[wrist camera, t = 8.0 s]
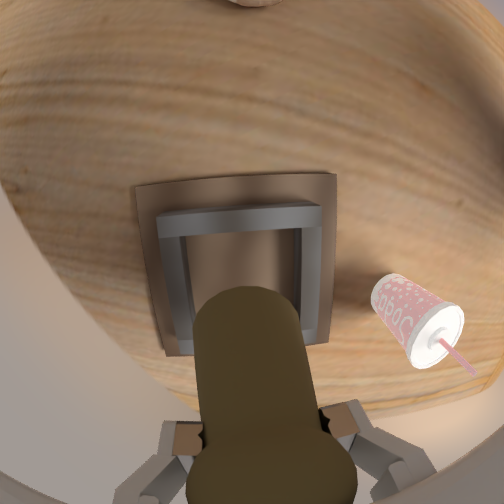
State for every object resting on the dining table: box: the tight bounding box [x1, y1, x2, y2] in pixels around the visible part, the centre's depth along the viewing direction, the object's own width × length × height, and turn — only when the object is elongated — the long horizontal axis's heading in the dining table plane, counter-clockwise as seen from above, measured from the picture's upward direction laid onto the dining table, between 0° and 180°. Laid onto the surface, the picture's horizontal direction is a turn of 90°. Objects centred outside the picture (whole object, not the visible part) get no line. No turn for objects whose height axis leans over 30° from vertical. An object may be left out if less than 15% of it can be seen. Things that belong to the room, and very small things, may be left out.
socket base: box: [135, 174, 337, 357], centre depth 22 cm, size 16×16×4 cm
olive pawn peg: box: [186, 286, 358, 504], centre depth 9 cm, size 6×6×11 cm
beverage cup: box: [371, 273, 477, 377], centre depth 19 cm, size 6×6×14 cm
